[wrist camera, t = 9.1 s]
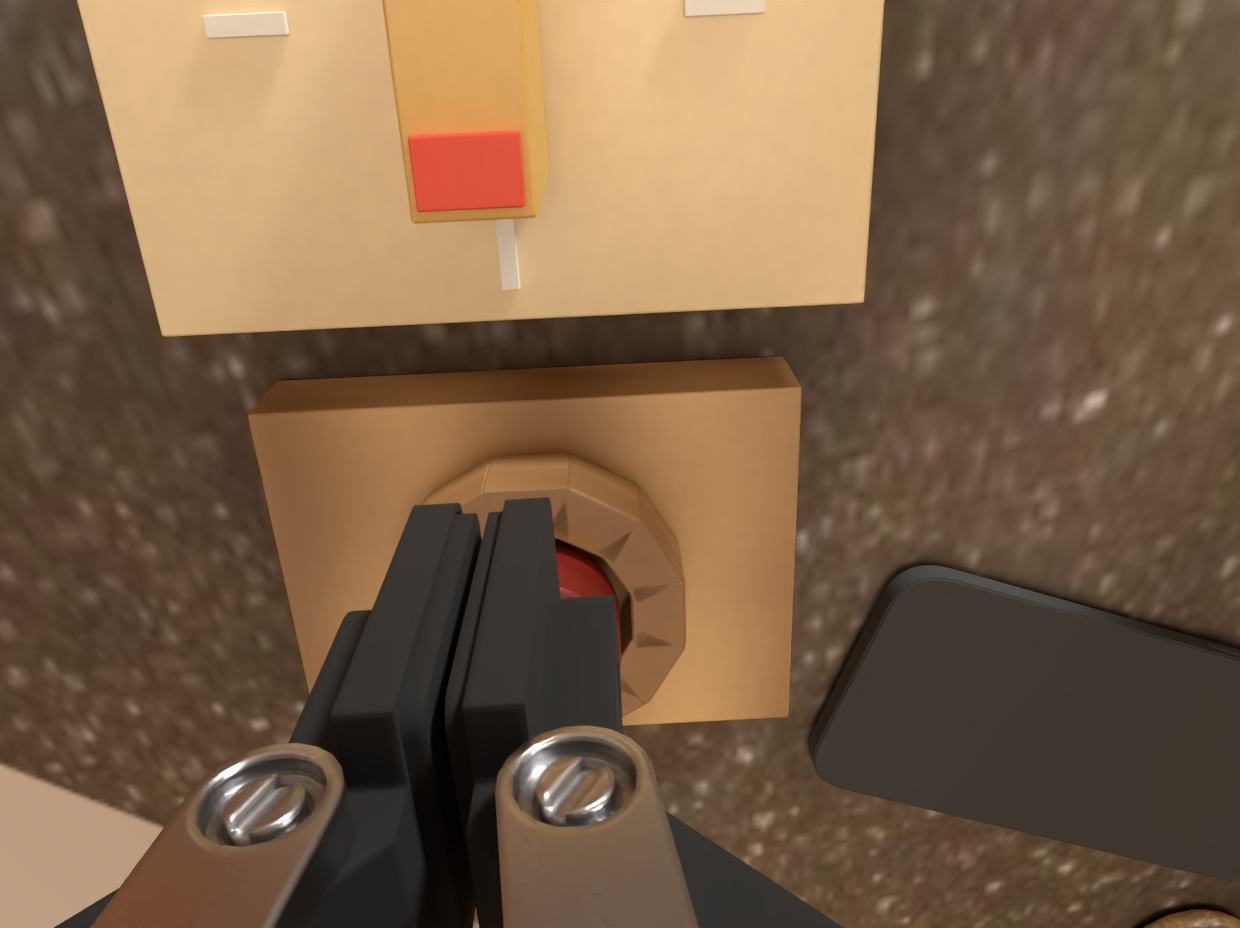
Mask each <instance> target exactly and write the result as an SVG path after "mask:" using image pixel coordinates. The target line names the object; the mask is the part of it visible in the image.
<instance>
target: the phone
mask: <svg viewBox="0 0 1240 928" xmlns="http://www.w3.org/2000/svg"><path fill="white" fill-rule="evenodd" d="M809 750H810V755H811V758H812V761H813V765H814V768H815V771H816V772H817V774H818V775H819V776H820V777H821V778H822V779H823V780H824V781H826V782H827V783H829V784H831V785H833V786H836V787H839V788H842V789H846V790H850V791H854V792H858V793H862V794H866V795H871V796H875V797H879V798H883V799H887V800H891V801H896V802H900V803H904V804H908V805H912V806H916V807H921V808H925V809H929V810H933V811H937V812H941V813H946V814H950V815H954V816H958V817H962V818H966V819H971V820H975V821H979V822H983V823H987V824H992V825H996V826H1000V827H1004V828H1008V829H1012V830H1017V831H1021V832H1025V833H1029V834H1033V835H1037V836H1042V837H1046V838H1050V839H1054V840H1058V841H1062V842H1067V843H1071V844H1075V845H1079V846H1083V847H1087V848H1092V849H1096V850H1100V851H1104V852H1108V853H1112V854H1117V855H1121V856H1125V857H1129V858H1133V859H1137V860H1142V861H1146V862H1150V863H1154V864H1158V865H1162V866H1167V867H1171V868H1175V869H1179V870H1183V871H1187V872H1192V873H1196V874H1200V875H1204V876H1209V877H1213V878H1219V879H1240V649H1236V648H1232V647H1229V646H1225V645H1222V644H1218V643H1215V642H1211V641H1208V640H1204V639H1201V638H1197V637H1193V636H1190V635H1186V634H1183V633H1179V632H1176V631H1172V630H1169V629H1165V628H1161V627H1158V626H1154V625H1151V624H1147V623H1144V622H1140V621H1137V620H1133V619H1129V618H1126V617H1122V616H1119V615H1115V614H1112V613H1108V612H1105V611H1101V610H1097V609H1094V608H1090V607H1087V606H1083V605H1080V604H1076V603H1073V602H1069V601H1066V600H1062V599H1058V598H1055V597H1051V596H1048V595H1044V594H1041V593H1037V592H1034V591H1030V590H1026V589H1023V588H1019V587H1016V586H1012V585H1009V584H1005V583H1002V582H998V581H994V580H991V579H987V578H984V577H980V576H977V575H973V574H970V573H966V572H962V571H959V570H955V569H951V568H947V567H942V566H935V565H924V566H917V567H913V568H911V569H908V570H906V571H904V572H902V573H901V574H899V575H898V576H897V577H895V578H894V579H893V580H892V581H891V582H890V584H889V585H888V586H887V587H886V589H885V590H884V592H883V594H882V595H881V597H880V599H879V601H878V603H877V605H876V607H875V609H874V611H873V613H872V614H871V616H870V618H869V620H868V622H867V624H866V626H865V628H864V630H863V632H862V634H861V636H860V638H859V640H858V642H857V644H856V646H855V648H854V650H853V652H852V654H851V656H850V658H849V660H848V662H847V664H846V666H845V668H844V669H843V671H842V673H841V675H840V677H839V679H838V681H837V683H836V685H835V687H834V689H833V691H832V693H831V695H830V697H829V699H828V701H827V703H826V705H825V707H824V709H823V711H822V713H821V715H820V717H819V719H818V721H817V723H816V725H815V727H814V729H813V732H812V734H811V737H810V742H809Z"/></svg>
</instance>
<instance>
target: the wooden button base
mask: <svg viewBox="0 0 1240 928" xmlns="http://www.w3.org/2000/svg"><path fill="white" fill-rule="evenodd" d="M801 397H802V388H801V386H800V384H799V382H798V381H797V379H796V377H795V376H794V374H793V372H792V371H791V369H790V367H789V366H788V364H787V362H786V361H785V359H784V358H783V357H782V356H777V357H756V358H736V359H715V360H695V361H675V362H654V363H634V364H613V365H593V366H573V367H552V368H532V369H511V370H491V371H470V372H450V373H430V374H409V375H389V376H368V377H348V378H327V379H307V380H287V381H278V382H277V383H276V384H275V385H274V386H273V387H272V388H271V389H270V390H269V391H268V393H267V394H266V395H265V396H264V397H263V398H262V399H261V400H260V401H259V403H258V404H257V405H256V406H255V407H254V408H253V409H252V410H251V411H250V413H249V414H248V419H249V424H250V428H251V433H252V437H253V442H254V446H255V451H256V455H257V460H258V464H259V469H260V473H261V478H262V482H263V487H264V491H265V496H266V500H267V505H268V509H269V514H270V518H271V523H272V527H273V532H274V536H275V541H276V545H277V550H278V554H279V559H280V563H281V568H282V572H283V577H284V581H285V586H286V590H287V595H288V599H289V604H290V608H291V613H292V617H293V622H294V626H295V631H296V635H297V640H298V644H299V649H300V653H301V658H302V662H303V667H304V671H305V676H306V680H307V685H308V689H309V694H310V693H311V690H312V688H313V686H314V684H315V681H316V679H317V677H318V675H319V672H320V670H321V668H322V665H323V663H324V661H325V659H326V656H327V654H328V652H329V650H330V647H331V645H332V643H333V641H334V638H335V636H336V634H337V631H338V629H339V627H340V625H341V622H342V620H343V619H344V617H345V615H346V614H347V613H348V612H351V611H358V610H372V608H373V606H374V603H375V601H376V598H377V596H378V593H379V591H380V588H381V586H382V583H383V581H384V578H385V576H386V573H387V571H388V568H389V566H390V563H391V561H392V558H393V555H394V553H395V550H396V548H397V545H398V543H399V540H400V538H401V535H402V533H403V530H404V528H405V525H406V523H407V520H408V518H409V515H410V513H411V510H412V508H413V507H414V505H429V504H446V503H459V504H460V505H461V508H462V511H463V514H468V513H477V515H478V519H479V523H480V530H481V537H482V538H483V534H484V529H485V525H486V521H487V517H488V513H489V512H500V511H503V507H504V502H505V500H510V499H526V498H542V497H549V498H550V502H551V508H552V516H553V526H554V536H555V545H560V546H564V547H567V548H569V549H572V550H575V551H576V552H578V553H580V554H582V555H584V556H586V557H587V558H589V559H590V560H591V561H593V562H594V563H595V564H596V565H597V566H598V567H599V568H600V569H601V570H602V571H603V572H604V573H605V574H606V576H607V577H608V579H609V580H610V582H611V583H612V585H613V588H614V590H615V592H616V595H617V599H618V604H619V616H620V635H621V666H620V679H621V697H622V721H623V726H626V725H645V724H664V723H683V722H702V721H721V720H740V719H759V718H778V717H787V716H788V709H789V685H790V661H791V637H792V613H793V589H794V565H795V541H796V517H797V493H798V469H799V445H800V421H801Z"/></svg>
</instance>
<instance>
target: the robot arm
mask: <svg viewBox="0 0 1240 928" xmlns="http://www.w3.org/2000/svg"><path fill="white" fill-rule="evenodd" d="M475 906H476V910H477V916H478V921H479V927H480V928H843V927H842V926H840V925H839V924H837V923H836V922H834V921H833V920H831V919H830V918H828V917H827V916H825V915H824V914H822V913H821V912H819V911H818V910H816V909H814V908H813V907H811V906H810V905H808V904H807V903H805V902H804V901H802V900H801V899H799V898H798V897H796V896H795V895H793V894H792V893H790V892H788V891H787V890H785V889H784V888H782V887H781V886H779V885H778V884H776V883H775V882H773V881H772V880H770V879H769V878H767V877H766V876H764V875H762V874H761V873H759V872H758V871H756V870H755V869H753V868H752V867H750V866H749V865H747V864H746V863H744V862H743V861H741V860H740V859H738V858H737V857H735V856H733V855H732V854H730V853H729V852H727V851H726V850H724V849H723V848H721V847H720V846H718V845H717V844H715V843H714V842H712V841H711V840H709V839H707V838H706V837H704V836H703V835H701V834H700V833H698V832H697V831H695V830H694V829H692V828H691V827H689V826H688V825H686V824H685V823H683V822H681V821H680V820H678V819H677V818H675V817H674V816H672V815H671V814H669V813H668V812H666V810H665V807H664V803H663V800H662V796H661V793H660V789H659V786H658V782H657V779H656V775H655V772H654V768H653V765H652V763H651V762H650V760H649V758H648V756H647V754H646V752H645V750H644V749H643V748H642V747H640V746H639V745H638V744H637V743H636V742H635V741H633V740H632V739H631V738H630V737H628V736H626V735H623V721H622V697H621V679H620V662H619V647H618V634H617V620H616V608H615V598H614V595H603V596H587V597H571V598H561V595H560V585H559V575H558V565H557V556H556V546H555V536H554V526H553V516H552V508H551V502H550V498H549V497H542V498H526V499H510V500H505V502H504V507H503V511H500V512H489V513H488V517H487V521H486V525H485V529H484V534H483V538H482V537H481V530H480V523H479V519H478V515H477V513H468V514H463V511H462V508H461V505H460V504H459V503H446V504H429V505H414V507H413V508H412V510H411V513H410V515H409V518H408V520H407V523H406V525H405V528H404V530H403V533H402V535H401V538H400V540H399V543H398V545H397V548H396V550H395V553H394V555H393V558H392V561H391V563H390V566H389V568H388V571H387V573H386V576H385V578H384V581H383V583H382V586H381V588H380V591H379V593H378V596H377V598H376V601H375V603H374V606H373V608H372V610H358V611H351V612H348V613H347V614H346V615H345V617H344V619H343V620H342V622H341V625H340V627H339V629H338V631H337V634H336V636H335V638H334V641H333V643H332V645H331V647H330V650H329V652H328V654H327V656H326V659H325V661H324V663H323V665H322V668H321V670H320V672H319V675H318V677H317V679H316V681H315V684H314V686H313V688H312V690H311V693H310V695H309V697H308V699H307V702H306V704H305V706H304V709H303V711H302V713H301V715H300V718H299V720H298V722H297V724H296V727H295V729H294V731H293V734H292V736H291V738H290V740H289V743H286V744H274V745H270V746H266V747H262V748H258V749H255V750H251V751H248V752H246V753H244V754H242V755H240V756H237V757H235V758H233V759H231V760H229V761H227V762H225V763H224V764H222V765H221V766H219V767H218V768H216V769H215V770H214V771H212V772H211V773H209V774H208V775H206V776H205V777H204V778H203V779H202V780H201V781H200V782H199V784H198V785H197V786H196V787H195V788H194V789H193V790H192V791H191V792H190V793H189V794H188V796H187V797H186V798H185V800H184V801H183V802H182V804H181V805H180V807H179V808H178V809H177V811H176V812H175V813H174V815H173V816H172V817H171V819H170V820H169V821H168V823H167V824H166V826H165V827H164V828H163V830H162V831H161V832H160V834H159V835H158V836H157V838H156V839H155V840H154V842H153V843H152V845H151V846H150V848H149V849H148V850H147V851H146V853H145V854H144V856H143V857H142V858H141V860H140V861H139V862H138V864H137V865H136V866H135V868H134V869H133V870H132V872H131V873H130V874H129V876H128V877H127V879H126V880H125V881H124V883H123V884H122V885H121V887H120V888H118V889H117V890H115V891H114V892H112V893H110V894H109V895H107V896H105V897H104V898H102V899H100V900H99V901H97V902H95V903H94V904H92V905H91V906H89V907H87V908H85V909H84V910H82V911H81V912H79V913H77V914H76V915H74V916H72V917H71V918H69V919H68V920H66V921H64V922H63V923H61V924H59V925H57V926H56V927H54V928H472V927H473V920H474V913H475Z"/></svg>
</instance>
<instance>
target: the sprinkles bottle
mask: <svg viewBox="0 0 1240 928" xmlns="http://www.w3.org/2000/svg"><path fill="white" fill-rule="evenodd" d="M1144 928H1240V920H1239V919H1237V918H1235V917H1234V916H1231V915H1227V914H1225V913H1222V912H1219V911H1211V910H1206V909H1195V910H1188V911H1183V912H1177V913H1173V914H1169V915H1167V916H1165V917H1163V918H1161V919H1159V920H1157V921H1155V922H1153V923H1151V924H1149V925H1147V926H1145V927H1144Z"/></svg>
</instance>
